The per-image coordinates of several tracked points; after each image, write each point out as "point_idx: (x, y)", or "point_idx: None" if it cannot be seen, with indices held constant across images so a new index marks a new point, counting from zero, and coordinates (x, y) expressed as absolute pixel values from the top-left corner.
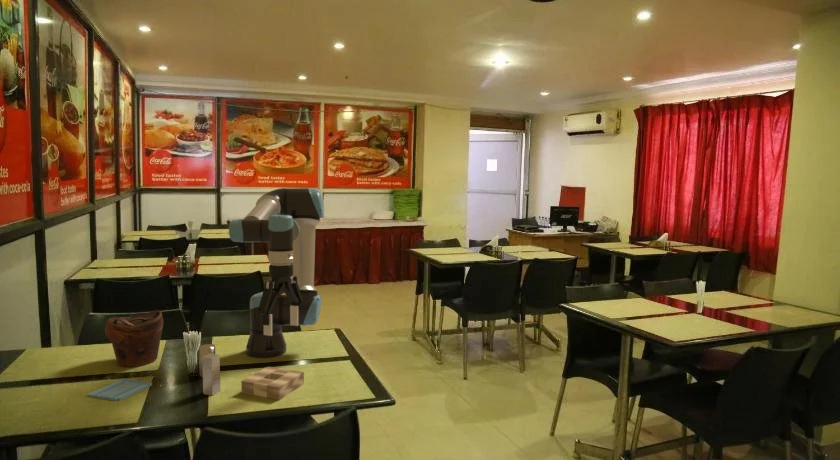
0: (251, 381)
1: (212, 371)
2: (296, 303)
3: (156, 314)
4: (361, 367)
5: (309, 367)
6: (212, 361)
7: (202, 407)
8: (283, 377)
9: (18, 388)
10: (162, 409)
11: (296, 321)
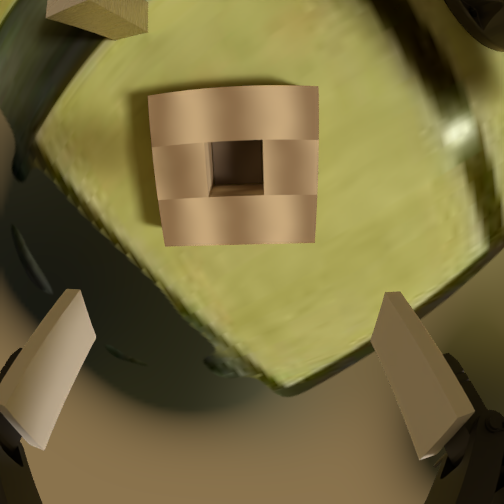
0: (160, 129)
1: (78, 25)
2: (439, 472)
3: None
4: (444, 298)
5: (430, 172)
6: (58, 18)
7: (54, 85)
8: (242, 207)
9: None
10: (24, 27)
11: (382, 358)
